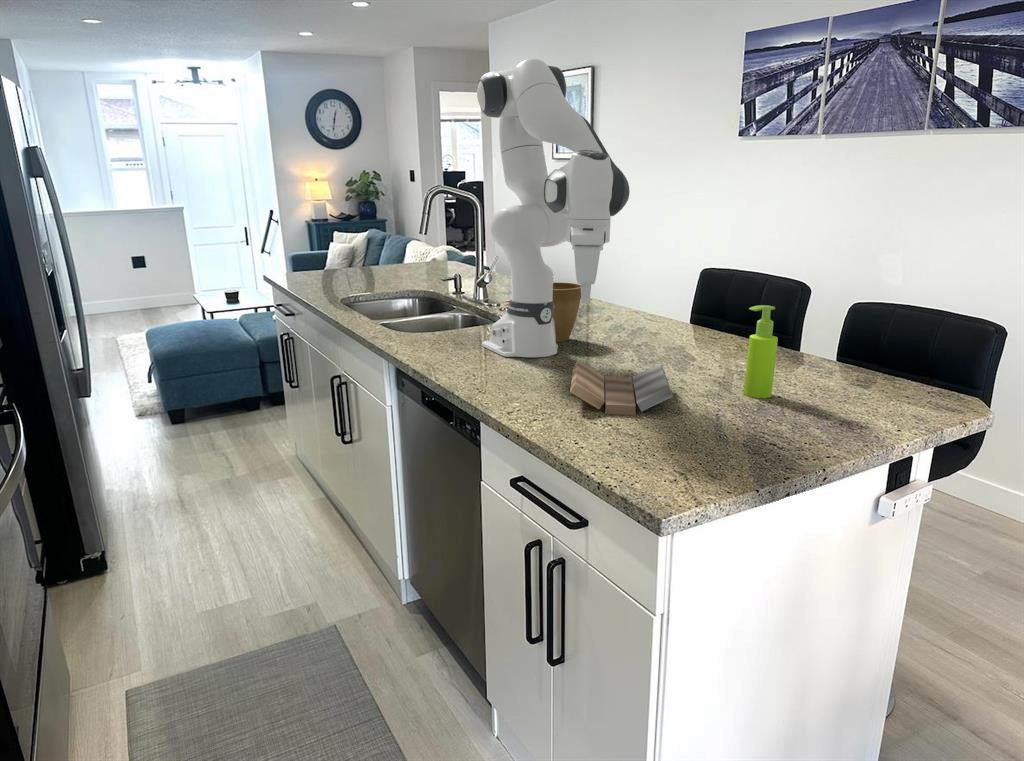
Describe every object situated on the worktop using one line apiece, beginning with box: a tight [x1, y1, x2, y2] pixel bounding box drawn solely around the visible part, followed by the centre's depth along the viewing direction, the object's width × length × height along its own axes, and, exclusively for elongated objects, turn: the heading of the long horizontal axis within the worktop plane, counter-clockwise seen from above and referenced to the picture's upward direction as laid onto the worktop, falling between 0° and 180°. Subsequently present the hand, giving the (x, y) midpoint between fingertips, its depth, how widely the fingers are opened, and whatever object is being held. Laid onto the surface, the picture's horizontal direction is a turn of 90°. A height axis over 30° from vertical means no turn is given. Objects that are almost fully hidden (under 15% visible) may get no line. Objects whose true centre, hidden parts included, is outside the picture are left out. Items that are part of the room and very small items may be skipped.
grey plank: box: [631, 363, 674, 413], centre depth 156 cm, size 20×7×2 cm, turn 173°
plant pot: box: [553, 281, 581, 343], centre depth 211 cm, size 15×15×16 cm
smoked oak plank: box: [569, 359, 605, 410], centre depth 157 cm, size 20×7×2 cm
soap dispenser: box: [743, 304, 779, 399], centre depth 159 cm, size 6×7×20 cm
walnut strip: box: [604, 375, 637, 416], centre depth 157 cm, size 22×6×2 cm, turn 174°
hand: (585, 300), depth 152 cm, fingers open, 6 cm apart
